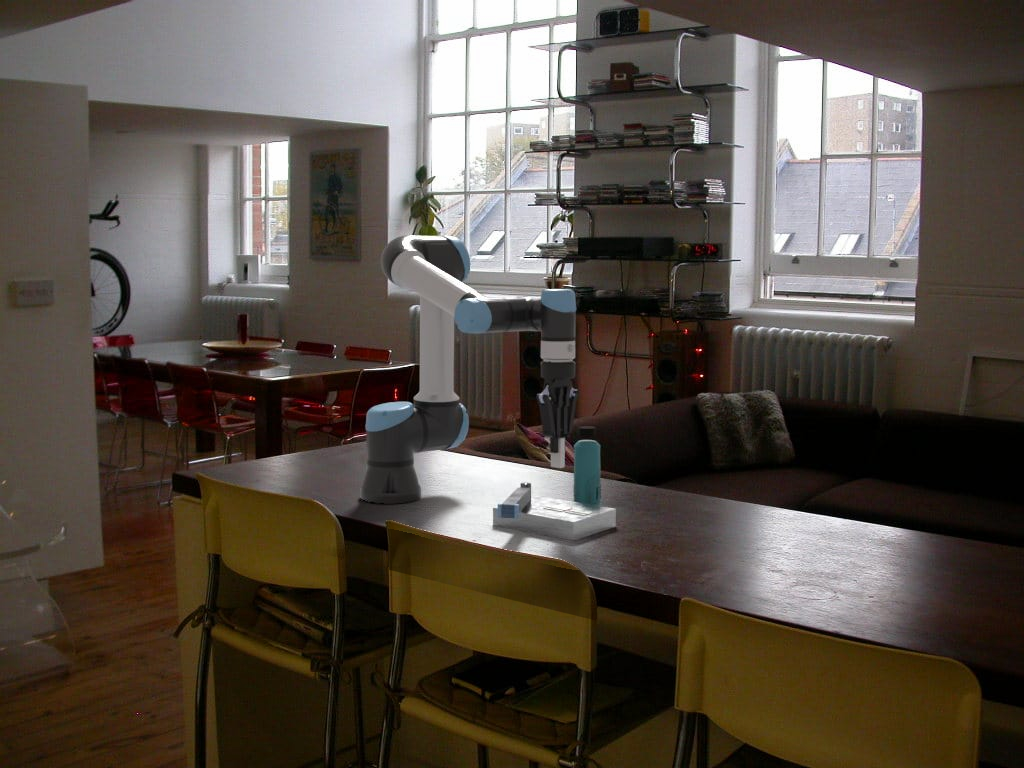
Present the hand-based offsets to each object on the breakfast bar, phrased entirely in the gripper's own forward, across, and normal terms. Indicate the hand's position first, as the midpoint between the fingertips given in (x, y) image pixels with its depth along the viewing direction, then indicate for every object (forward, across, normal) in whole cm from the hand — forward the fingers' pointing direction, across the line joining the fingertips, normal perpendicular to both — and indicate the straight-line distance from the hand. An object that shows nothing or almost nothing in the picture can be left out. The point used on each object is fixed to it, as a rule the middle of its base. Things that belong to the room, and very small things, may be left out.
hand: (557, 466), depth 241 cm
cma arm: (+8, -10, +4) cm, 13 cm away
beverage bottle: (+14, +17, +4) cm, 22 cm away
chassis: (+13, 0, +1) cm, 13 cm away
